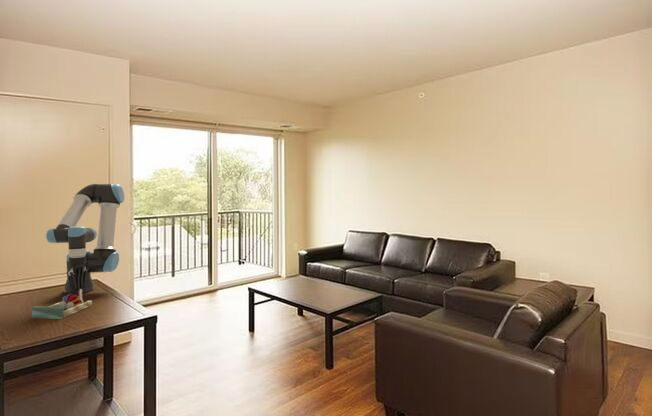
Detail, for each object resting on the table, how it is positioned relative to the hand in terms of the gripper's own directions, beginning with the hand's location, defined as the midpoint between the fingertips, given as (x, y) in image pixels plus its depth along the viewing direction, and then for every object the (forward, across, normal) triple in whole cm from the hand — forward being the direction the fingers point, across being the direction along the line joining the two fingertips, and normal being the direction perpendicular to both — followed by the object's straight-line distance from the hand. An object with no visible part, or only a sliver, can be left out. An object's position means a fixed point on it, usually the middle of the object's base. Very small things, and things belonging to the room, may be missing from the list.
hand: (78, 301), depth 199 cm
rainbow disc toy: (+2, +5, 0) cm, 5 cm away
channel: (+2, +10, 0) cm, 10 cm away
